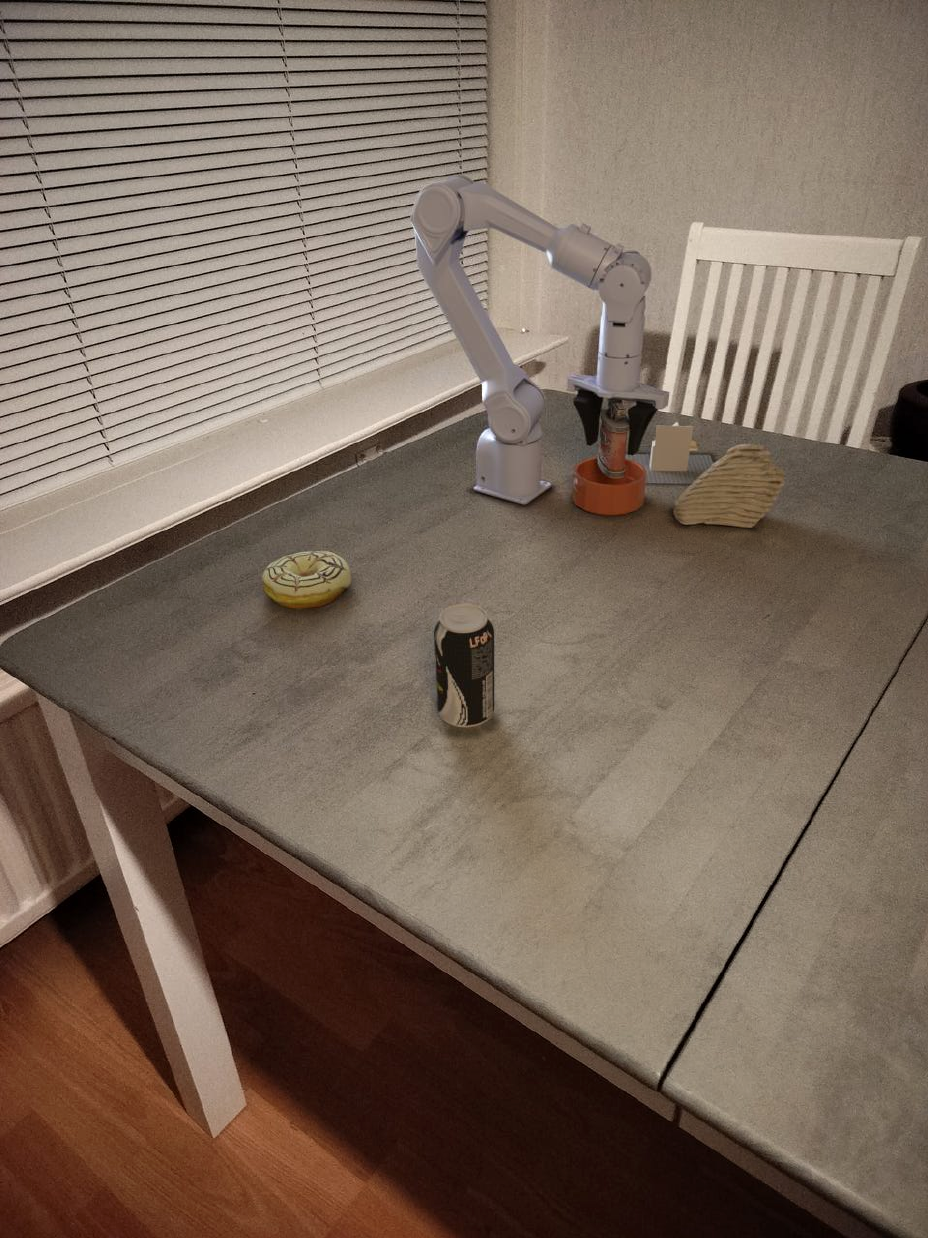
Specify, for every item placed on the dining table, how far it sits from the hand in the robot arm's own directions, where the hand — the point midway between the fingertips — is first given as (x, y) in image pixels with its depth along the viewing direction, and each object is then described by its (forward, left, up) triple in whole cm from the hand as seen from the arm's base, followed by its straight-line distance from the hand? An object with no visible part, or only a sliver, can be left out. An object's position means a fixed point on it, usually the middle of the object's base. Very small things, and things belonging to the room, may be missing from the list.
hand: (612, 447), depth 118 cm
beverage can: (+10, -51, -9) cm, 53 cm away
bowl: (0, 0, -8) cm, 8 cm away
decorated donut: (-20, -43, -9) cm, 48 cm away
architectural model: (+2, +16, -9) cm, 18 cm away
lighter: (0, 0, -3) cm, 3 cm away
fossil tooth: (+16, +4, -9) cm, 19 cm away
